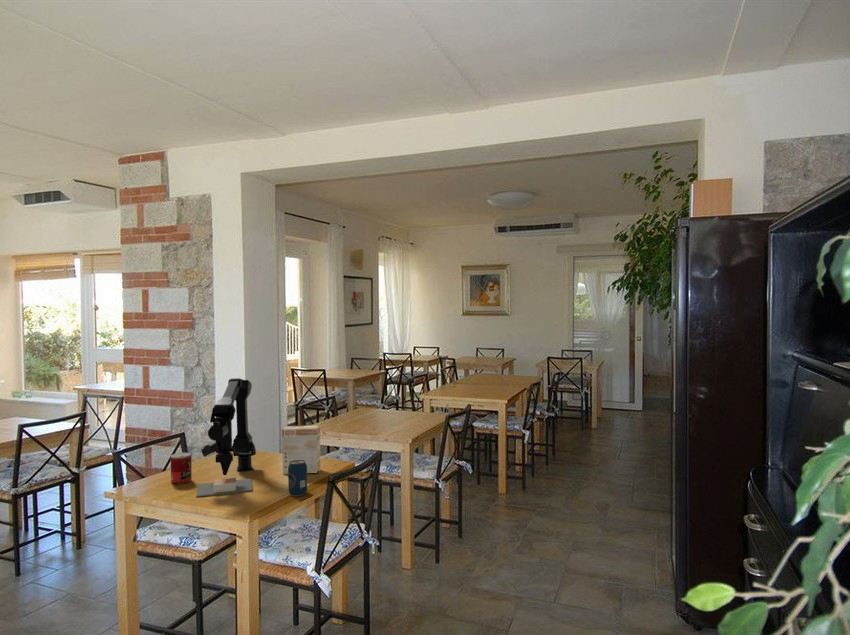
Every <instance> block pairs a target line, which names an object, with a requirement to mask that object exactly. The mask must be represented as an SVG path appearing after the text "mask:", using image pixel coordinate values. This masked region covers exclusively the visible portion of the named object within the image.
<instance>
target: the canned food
mask: <svg viewBox="0 0 850 635" xmlns="http://www.w3.org/2000/svg"><path fill="white" fill-rule="evenodd" d="M192 479H193V478H192V454H191V452H178V453H177V452H176V453H173V454H171V455H170V482H171V484H173V483H184V484H186V483H185V482H188V483H190V482H191V481H192ZM189 481H190V482H189Z"/></svg>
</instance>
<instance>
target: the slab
mask: <svg viewBox="0 0 850 635" xmlns="http://www.w3.org/2000/svg"><path fill="white" fill-rule="evenodd" d="M236 480H237V477H230V478H219V479H214V480H213V483H214V493H216V492H225V491H234V490H236Z"/></svg>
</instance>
